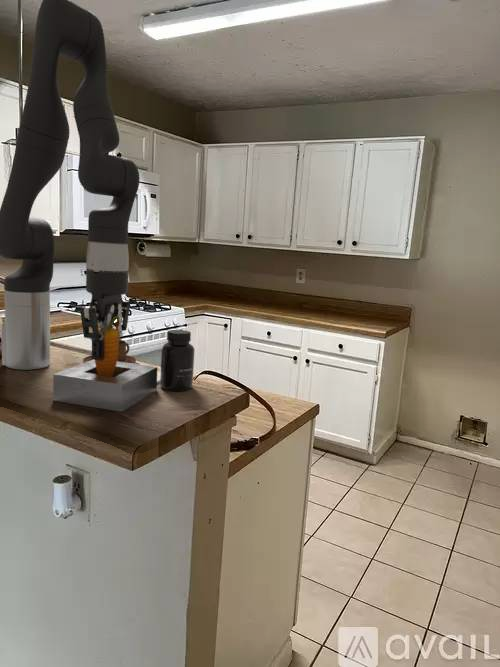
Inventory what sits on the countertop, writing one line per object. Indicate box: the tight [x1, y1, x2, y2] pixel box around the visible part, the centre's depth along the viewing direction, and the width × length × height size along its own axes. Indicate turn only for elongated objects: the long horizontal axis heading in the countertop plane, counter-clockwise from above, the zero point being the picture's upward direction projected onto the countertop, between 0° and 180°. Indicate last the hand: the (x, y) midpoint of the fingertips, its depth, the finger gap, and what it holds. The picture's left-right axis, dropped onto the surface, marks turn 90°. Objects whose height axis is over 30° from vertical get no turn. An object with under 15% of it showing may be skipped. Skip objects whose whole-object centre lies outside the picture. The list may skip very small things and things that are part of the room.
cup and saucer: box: [82, 339, 137, 364], centre depth 115 cm, size 12×12×6 cm
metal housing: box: [52, 359, 158, 413], centre depth 94 cm, size 14×14×5 cm
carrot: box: [95, 315, 119, 376], centre depth 93 cm, size 5×5×15 cm
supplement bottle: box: [159, 329, 195, 392], centre depth 102 cm, size 7×7×12 cm
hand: (105, 356), depth 93 cm, fingers closed on carrot, 5 cm apart
